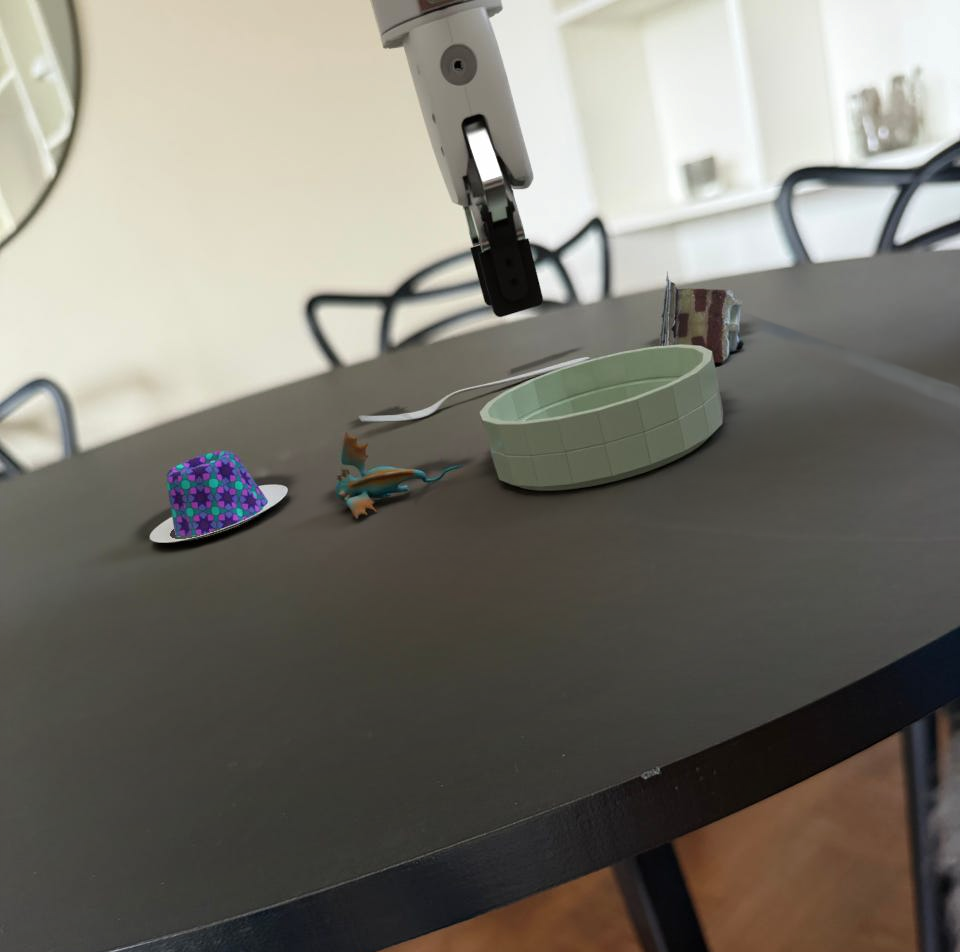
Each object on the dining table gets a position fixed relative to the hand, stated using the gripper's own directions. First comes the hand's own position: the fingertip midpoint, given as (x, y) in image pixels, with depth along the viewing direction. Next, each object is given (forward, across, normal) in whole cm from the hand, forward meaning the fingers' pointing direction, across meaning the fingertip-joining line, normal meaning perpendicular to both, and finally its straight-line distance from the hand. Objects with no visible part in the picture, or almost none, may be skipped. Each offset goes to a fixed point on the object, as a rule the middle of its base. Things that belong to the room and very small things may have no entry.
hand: (512, 302), depth 68 cm
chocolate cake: (+12, +20, -17) cm, 29 cm away
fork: (+12, +32, +3) cm, 34 cm away
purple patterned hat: (+12, +13, +27) cm, 32 cm away
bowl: (+12, 0, -4) cm, 12 cm away
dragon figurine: (+12, +4, +12) cm, 17 cm away
